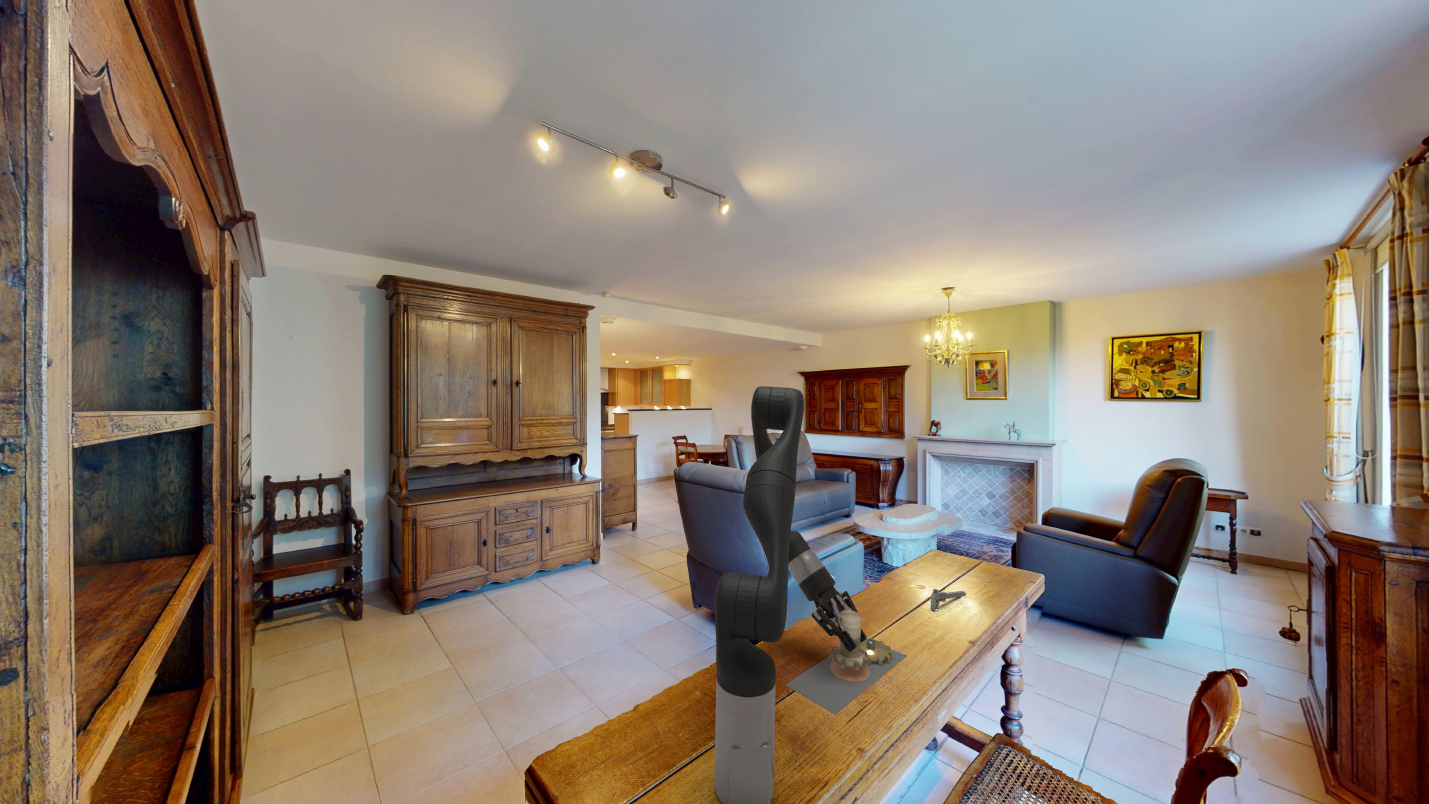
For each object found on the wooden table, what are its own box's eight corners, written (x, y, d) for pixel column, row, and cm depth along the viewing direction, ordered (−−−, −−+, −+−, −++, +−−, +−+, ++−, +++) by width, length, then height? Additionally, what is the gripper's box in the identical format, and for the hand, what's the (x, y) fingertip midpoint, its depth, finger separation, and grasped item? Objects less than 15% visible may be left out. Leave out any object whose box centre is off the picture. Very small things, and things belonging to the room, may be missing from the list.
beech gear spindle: (874, 669, 100) (875, 622, 100) (839, 671, 99) (840, 624, 99) (858, 649, 108) (859, 605, 108) (825, 651, 107) (826, 607, 107)
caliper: (933, 613, 135) (934, 591, 135) (930, 611, 136) (930, 590, 136) (966, 595, 148) (967, 575, 148) (963, 594, 149) (963, 574, 149)
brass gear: (900, 664, 106) (900, 651, 106) (860, 667, 104) (860, 653, 104) (879, 642, 115) (880, 630, 115) (843, 644, 114) (843, 632, 114)
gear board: (835, 722, 89) (835, 714, 89) (784, 692, 98) (785, 684, 98) (907, 662, 109) (907, 655, 109) (860, 641, 118) (860, 635, 118)
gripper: (804, 574, 103) (855, 650, 95) (835, 558, 113) (884, 625, 106) (783, 591, 106) (831, 666, 99) (815, 574, 117) (861, 640, 109)
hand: (858, 644), depth 102 cm, fingers closed on beech gear spindle, 4 cm apart
